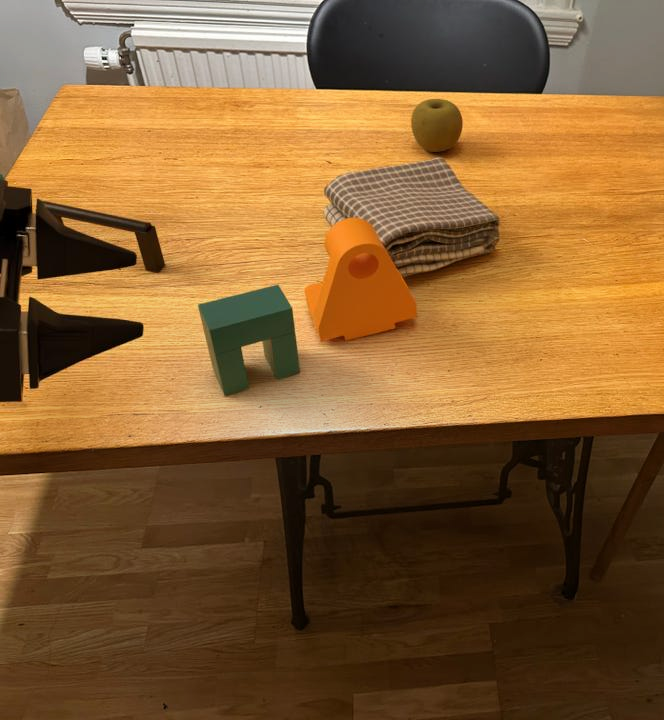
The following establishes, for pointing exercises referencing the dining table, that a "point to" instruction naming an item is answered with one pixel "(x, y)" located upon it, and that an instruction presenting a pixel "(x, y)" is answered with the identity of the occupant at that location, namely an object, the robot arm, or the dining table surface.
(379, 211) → the towel
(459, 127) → the apple
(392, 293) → the bracket
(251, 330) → the dark green block
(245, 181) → the dining table surface
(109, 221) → the dark pull handle
